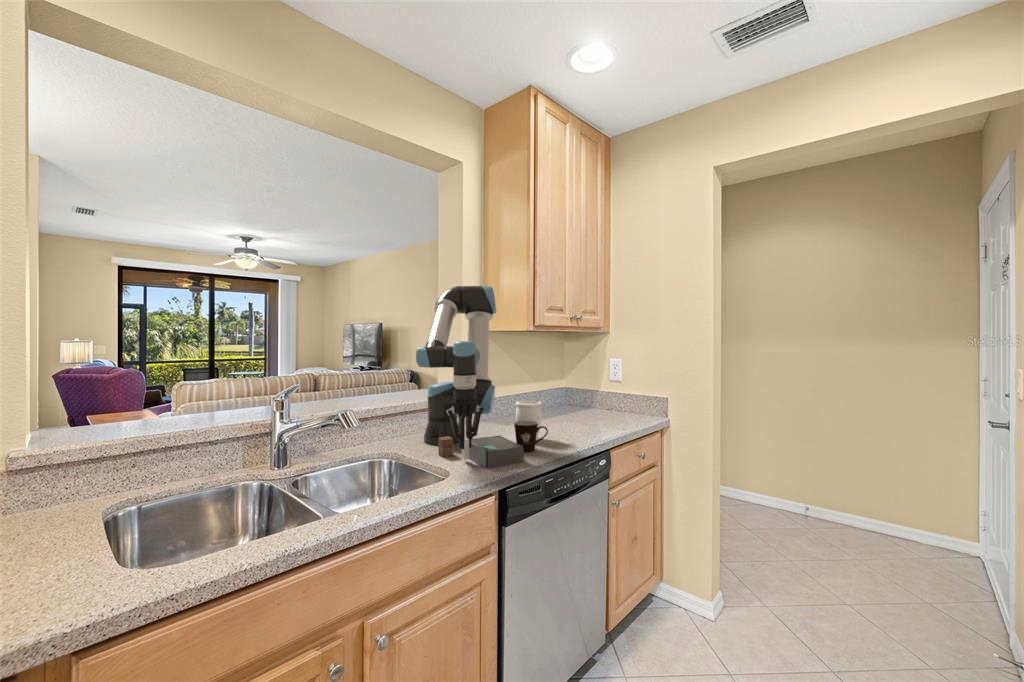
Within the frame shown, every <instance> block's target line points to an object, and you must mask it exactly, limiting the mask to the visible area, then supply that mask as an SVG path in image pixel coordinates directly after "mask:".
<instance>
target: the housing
mask: <svg viewBox="0 0 1024 682" xmlns="http://www.w3.org/2000/svg"><path fill="white" fill-rule="evenodd" d="M471 442H473V443H475V444H477V445H478V446H480V447H482V448H484V449H485V450H486V453H487V464H486V467H485V468H495V467H501V466H508V465H512V464H513V465H514V464H520V463H524V452H523V446H521V445H519V444H517V442H516V441H513V440H511V439H508V438H506V437H504V436H503V435H500V434H499V435H494V436H484V437H478V438H472V439H471Z"/></svg>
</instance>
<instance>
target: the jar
mask: <svg viewBox="0 0 1024 682" xmlns="http://www.w3.org/2000/svg"><path fill="white" fill-rule="evenodd" d="M515 406H516V410H515V422H517V421H535V422H537V423H538V425H537V428H538V427H541V426H542V418H543V417H542V409H541V406H542V402H541V401H537V400H518V401H516V402H515ZM540 431H541V428H540V429H539V430H538V432H537V434H536V441H537V440H539V439H540V437H539V434H540Z"/></svg>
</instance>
